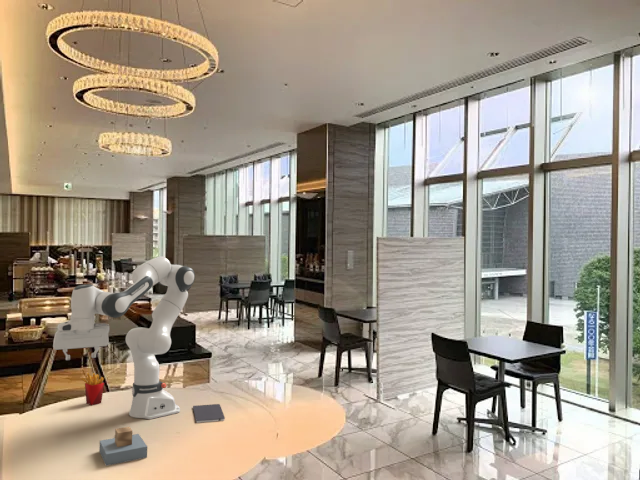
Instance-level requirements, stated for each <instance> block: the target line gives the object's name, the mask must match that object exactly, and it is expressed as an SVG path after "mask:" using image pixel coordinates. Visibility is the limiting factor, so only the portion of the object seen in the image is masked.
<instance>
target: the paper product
mask: <svg viewBox="0 0 640 480" xmlns="http://www.w3.org/2000/svg"><path fill="white" fill-rule="evenodd" d="M192 409H193V410H192V411H193V414H194V419H195V423H196V424H200V423H213V422H221V421H222V422H223V421H225V419H226V417H225V415H224V412H223V410H222V405H221V404H220V403H214V404H202V405H201V404H200V405H193V406H192Z"/></svg>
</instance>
